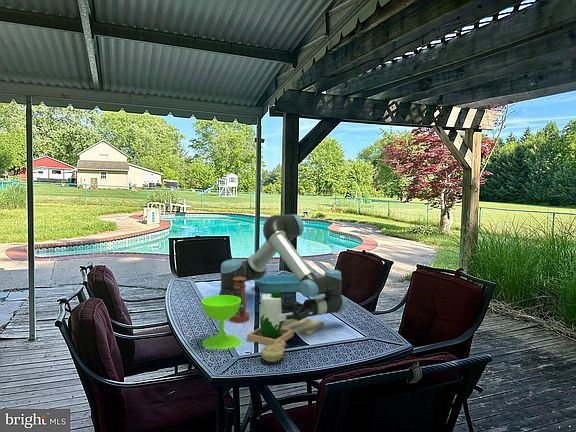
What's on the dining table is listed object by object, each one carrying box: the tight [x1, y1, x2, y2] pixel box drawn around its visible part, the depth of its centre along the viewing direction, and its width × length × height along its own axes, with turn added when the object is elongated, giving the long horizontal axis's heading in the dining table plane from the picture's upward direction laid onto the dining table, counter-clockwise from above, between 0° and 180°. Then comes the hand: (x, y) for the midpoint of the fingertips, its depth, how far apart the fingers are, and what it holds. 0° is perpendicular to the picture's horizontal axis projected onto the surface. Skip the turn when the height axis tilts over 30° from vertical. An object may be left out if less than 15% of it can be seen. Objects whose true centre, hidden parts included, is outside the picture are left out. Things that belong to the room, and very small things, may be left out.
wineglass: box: [200, 294, 242, 349], centre depth 160 cm, size 16×16×18 cm
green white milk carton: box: [259, 291, 283, 340], centre depth 167 cm, size 9×9×20 cm
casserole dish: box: [252, 274, 300, 294], centre depth 249 cm, size 37×22×7 cm, turn 102°
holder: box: [246, 327, 295, 346], centre depth 167 cm, size 14×14×2 cm
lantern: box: [229, 260, 250, 324], centre depth 189 cm, size 10×10×30 cm
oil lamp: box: [260, 341, 287, 363], centre depth 148 cm, size 11×14×5 cm
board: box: [281, 317, 325, 336], centre depth 182 cm, size 16×16×1 cm
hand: (271, 313), depth 166 cm, fingers open, 13 cm apart
